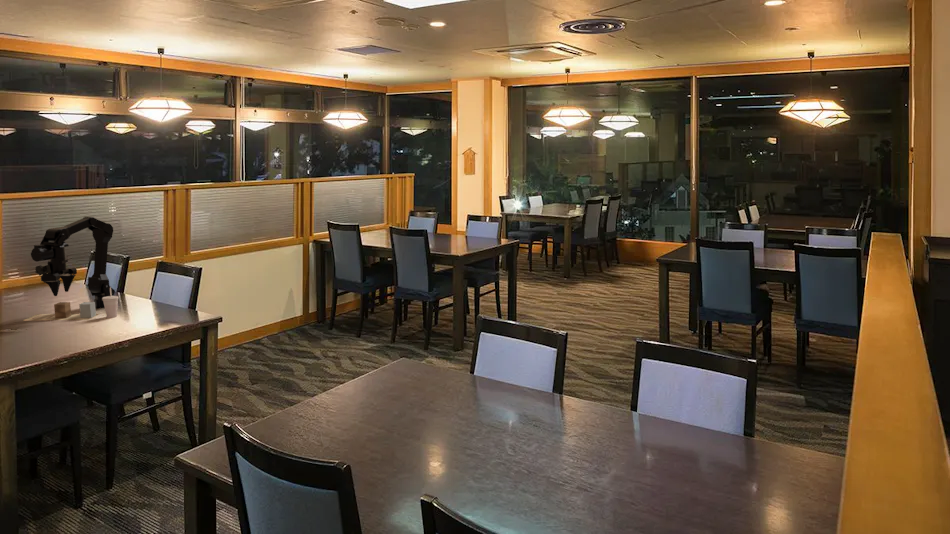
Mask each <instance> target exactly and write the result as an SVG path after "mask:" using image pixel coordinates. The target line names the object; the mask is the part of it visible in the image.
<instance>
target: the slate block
mask: <svg viewBox="0 0 950 534" xmlns="http://www.w3.org/2000/svg"><path fill="white" fill-rule="evenodd" d="M78 305H79V314H80V318H91V319H93V318H95V317H96V314H97V313H96V311H97V310H96V309H97V308H95V302H94V301H83V302H82V303H81V302H80V303H78ZM94 316H95V317H94ZM92 317H93V318H92Z"/></svg>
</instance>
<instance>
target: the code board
mask: <svg viewBox="0 0 950 534" xmlns="http://www.w3.org/2000/svg"><path fill="white" fill-rule="evenodd" d="M99 315H100V313H96V316H99ZM96 316H94V317H92V318H80V313H71V316H70V317H67V318H55V313H41V314H40V313H37V314H35V315H33V316H32V315H31V316H30V317H28V318H25V319H23V320H22V321H26V322H27V321H31V322H35V321H38V322H39V321H88V320H91V319H93V318H95V317H96Z"/></svg>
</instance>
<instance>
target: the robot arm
mask: <svg viewBox="0 0 950 534" xmlns="http://www.w3.org/2000/svg"><path fill="white" fill-rule="evenodd" d="M85 229H88V230H89V231H91V232H92V238H93V240H94V241H95V246H94V247H95V248H94V249H95V250H94V251H95V252H94V264H93V265H94V266H93V274H92V276H88V278H87V285H86V286H87V288H88V290H89V291H90V294H91V296H93V297H94V299H93V302H95V309H102V308H104V309H105V307H104V302H103V301H102V298H103V297H107V296H110V287H111V285H110V280H109V278H108V276H107V262H108V249H109V242H110V240H111V239H112V238H113V233H114V227H113V226H112V224H111V223H107V222H104V221H103V220H99V219H98V218H95V217H94V216H84V217H83V218H80V219H78V220H76V221H74V222H70V223H68V224H66V225H63V226H61V227H60V226H58V227H51V228H48V229H46V231H45V234H44V236H43V237H42V239H41V241H40V244H35V245H33V248H32V250H31V252H30V257H31V258H32V260H33V261H34V262H35V263H36V262H38V263H39V262H44V261H47V265H42V264H39V265H37V266H36V265H35V271H34V273H36V274H37V275H38V276H40V282H43V283H44V284H47V285H48V287H49V289H50V290H51V291H50V292H52V294H53V296H54V297H58V294H59V289H60V285H61V281H62V285H63V289H64V292H65V293H68V292H69V290H70V288H71V285H72V283H73V281H74V279H75V277H76V275H77V274H78V271H77V270H78V269H77V268H76V267H74V266H73V267H71V266H70V267H67V263H68V262H69V260H68V259H66V251H65V250H66V249H65V248H66V247H67V248H68V247H69V246H70V245H69V244H68V243H67V242H66V241H67V240H68V239H70V236H72V235H74V234H76V233H79V232H81V231H83V230H85ZM60 279H61V280H60ZM115 292H116V291H115V289H114V288H113V287H111V293H112V296H115Z"/></svg>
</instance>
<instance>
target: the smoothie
mask: <svg viewBox="0 0 950 534" xmlns="http://www.w3.org/2000/svg"><path fill="white" fill-rule="evenodd" d="M111 288H112V286H110V296H107V297H103V298H102V301H103V302H104V307H105V308H104V312H105V315H106V318H107V319H115V318H118V305H119V303H118V302H119V296H118V295H112V293H111Z"/></svg>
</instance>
